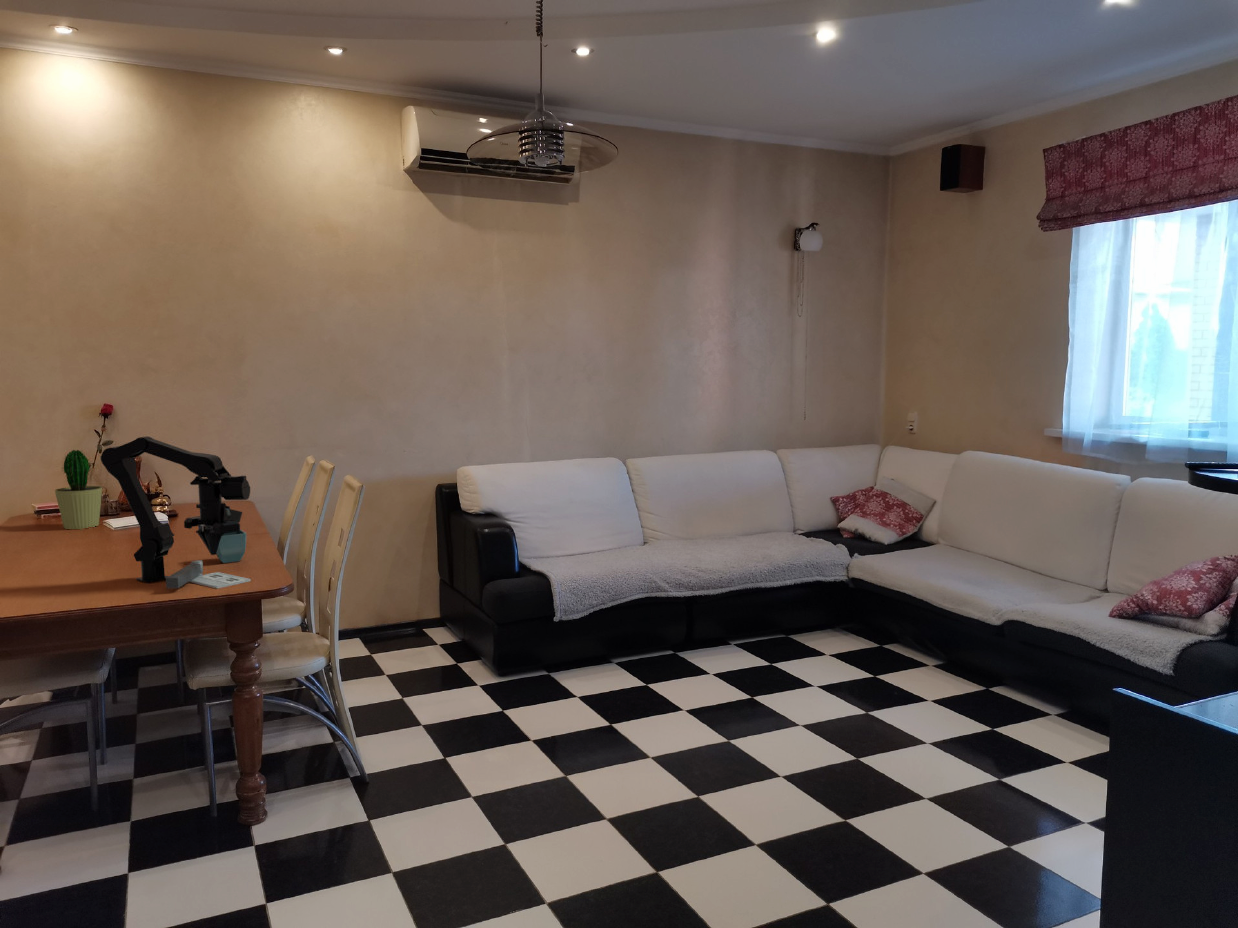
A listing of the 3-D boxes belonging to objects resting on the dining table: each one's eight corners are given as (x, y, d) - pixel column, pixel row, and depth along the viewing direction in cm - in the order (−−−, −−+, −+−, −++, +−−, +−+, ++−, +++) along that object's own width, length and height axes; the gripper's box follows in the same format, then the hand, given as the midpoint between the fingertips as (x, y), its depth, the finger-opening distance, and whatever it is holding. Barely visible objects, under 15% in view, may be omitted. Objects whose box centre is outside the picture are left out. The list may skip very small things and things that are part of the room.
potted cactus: (113, 525, 338) (107, 447, 335) (70, 532, 325) (64, 450, 322) (91, 522, 346) (86, 445, 343) (49, 528, 333) (43, 449, 330)
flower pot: (217, 565, 269) (216, 536, 268) (211, 560, 276) (209, 532, 275) (248, 561, 274) (246, 533, 273) (241, 556, 281) (239, 529, 280)
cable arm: (193, 571, 256) (193, 560, 255) (204, 571, 256) (204, 560, 256) (166, 588, 236) (165, 576, 236) (178, 588, 236) (177, 576, 236)
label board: (178, 579, 251) (178, 576, 251) (211, 572, 259) (211, 569, 259) (217, 588, 240) (217, 585, 240) (250, 581, 249) (250, 577, 249)
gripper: (256, 499, 250) (258, 553, 252) (218, 494, 261) (221, 546, 263) (219, 504, 241) (222, 560, 243) (181, 498, 252) (184, 552, 253)
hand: (213, 554), depth 251 cm, fingers closed
